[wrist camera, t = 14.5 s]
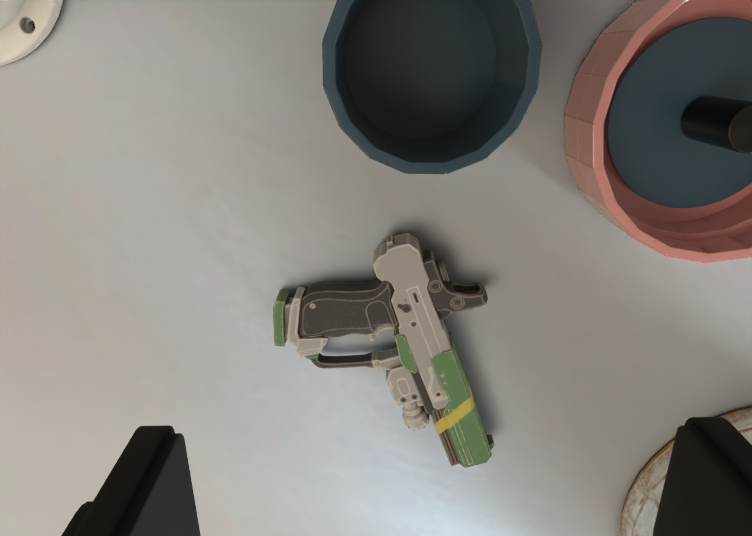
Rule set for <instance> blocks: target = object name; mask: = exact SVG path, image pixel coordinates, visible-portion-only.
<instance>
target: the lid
mask: <svg viewBox="0 0 752 536" xmlns="http://www.w3.org/2000/svg"><path fill="white" fill-rule="evenodd" d="M605 138H606V146H607V151H608V155H609V158H610V161H611V163H612V165H613V167H614V169H615V171H616V173H617V174H618V176H619V177H620V179H621V180H622V181H623V182H624V183H625V184H626V185H627V187H628V188H629V189H631V190H632V191H633V192H635V193H636V194H637V195H639V196H641V197H643V198H644V199H646V200H648V201H650V202H653V203H656V204H658V205H662V206H666V207H672V208H695V207H701V206H706V205H709V204H713V203H716V202H719V201H721V200H724V199H726V198H728V197H730V196H732V195H734V194H736V193H738V192H739V191H741V190H742V189H744V188H745V187H747V186H748V185H750V184H751V183H752V22H750V21H748V20H744V19H740V18H734V17H709V18H703V19H698V20H693V21H690V22H687V23H684V24H681V25H679V26H677V27H675V28H673V29H671V30H668V31H667V32H665V33H664V34H662V35H660V36H659V37H657V38H656V39H655V40H653V41H652V42H651V43H650V44H648V45H647V46H646V47H645V48H644V49H643V50H642V51H641V52H640V53H639V54H638V55H637V56H636V57H635V58H634V59H633V60H632V62H631V63H630V64H629V65H628V67H627V68H626V70H625V71H624V73H623V74H622V76H621V77H620V79H619V81H618V83H617V85H616V87H615V89H614V92H613V95H612V98H611V101H610V104H609V108H608V111H607V115H606V125H605Z"/></svg>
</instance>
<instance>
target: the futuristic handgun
mask: <svg viewBox="0 0 752 536" xmlns="http://www.w3.org/2000/svg"><path fill="white" fill-rule="evenodd" d="M373 267H374V270H375V273H376V277H377V278H379V279H377V280H375V281H371V282H354V283H343V282H326V283H318V284H315V285H312V286H310V287H308V288H307V289H306V290H305V287H298V288H297V291H296V293H295V296H294V297H290V298H288V297H289V293H290V291H289V290H280V292H279V294H278V296H277V299H276V301H275V304H274V307H273V321H274V343H275V346H282V347H284V346H285V343H286V340H287V338H288V339H289V340H290V342H291V343H293V344H294V345H296V346H297V352H298V353H299V354H300V355H301V356H302V357H303V356H304V357H306V358H307V359H310V360H311V361H312V362H313V364H314V365H316V366H317V367H319V368H347V367H362V366H366V367H373V368H379V369H386V380H387V383H388V385H389V388H390V390H391V393H392V395H393V398H394V400H395V401H396V402H397V404H398V405H399V406H401V405H402V406H403V419H404V422H405V424H406V425H407V427H408V428H412V429H413V430H420V429H422V428H424V427H425V422H426V423H429V415H431V416H432V419H433V421H434V424H435V426H436V428H437V431H438V434H439V436H440V439H441V441H442V444H443V446H444V449H445V451H446V454H447V456H448V459H449V461H450V464H451V466H454V465H456V464H461V465H462V466H463V467H465V468H466V467H470V466H474V465H478V464H482V463H485V462H487V461H488V459H489V458H490V457H491V455H492V452H491V449H492V448H493V446H494V441H493V437H492V435H489V434H487V433H486V430H485V427H484V424H483V422H482V419H481V416H480V413H479V410H478V408H477V405H476V402H475V399H474V396H473V393H472V391H471V388H470V385H469V382H468V379H467V376H466V374H465V371H464V368H463V365H462V362H461V360H460V357H459V354H458V351H457V349H456V346H455V343H454V340H453V337H452V335H451V333H450V332H448V330H447V327H446V325H445V322H444V319H443V318H446V317H449V316H450V314H451V313H457V312H461V311H465V310H469V309H472V308H475V307H479V306H482V305H484V304H486V303H487V300H488V298H487V294H486V290H485V287H484V286H483V285H482V284H480V283H474V284H460V283H454V282H451V281H450V278H449V275H448V272H447V269H446V266H445V263H444V260H443V259H440V260H438V261H436V258H435V256H434V253H433V251H432V250H428V251H425V252H423V253H422V251H421V248H420V245H419V242H418V239H417V238H415V237H414V236H413V235H411V234H410V233H403V234H398V235H396V236H393V235H392V234H391V235H389V236H387V242H384V243H382V244H381V245H380V246H379V247H378V248H377V249H376V250H375V251H374V258H373ZM387 329H394V338H395V341H396V345H397V347H396V348H392V349H389V350H385V351H382V352H381V351H374V352H371V353H368V354H365V355H351V356H323V355H321V354H320V351H321V350H322V348H323V347H324V346H325V345H326V344H327V341H328V337H340V336H344V335H348V334H356V333H357V334H368V335H369V338H370V340H371V341H375V340H376V338H377V336H378V334H379V333H380V332H382V331H384V330H387Z"/></svg>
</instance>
